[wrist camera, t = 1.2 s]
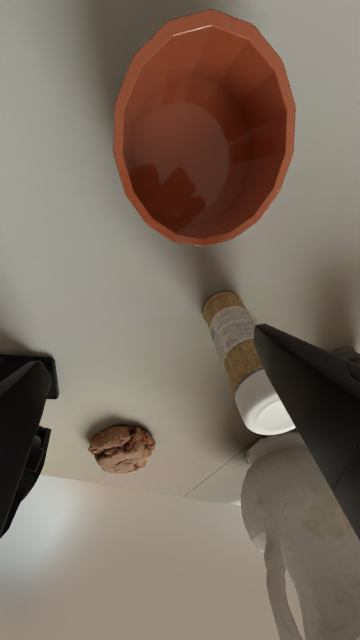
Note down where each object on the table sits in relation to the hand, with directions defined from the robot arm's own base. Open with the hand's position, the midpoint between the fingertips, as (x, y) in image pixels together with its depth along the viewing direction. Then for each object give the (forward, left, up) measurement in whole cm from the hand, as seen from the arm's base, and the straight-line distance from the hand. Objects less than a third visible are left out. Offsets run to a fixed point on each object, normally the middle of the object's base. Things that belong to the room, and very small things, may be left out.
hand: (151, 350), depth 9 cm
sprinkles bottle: (-4, -8, -14) cm, 17 cm away
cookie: (-30, +1, -14) cm, 33 cm away
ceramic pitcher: (-32, -26, -14) cm, 44 cm away
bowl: (+8, -2, -14) cm, 16 cm away
